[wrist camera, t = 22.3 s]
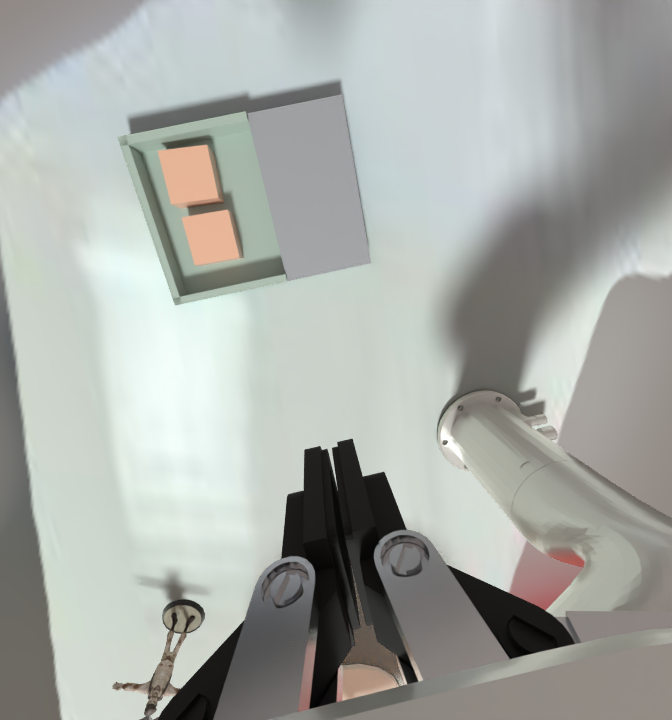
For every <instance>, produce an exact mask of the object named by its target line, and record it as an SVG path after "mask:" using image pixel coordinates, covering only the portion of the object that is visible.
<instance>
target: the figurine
mask: <svg viewBox="0 0 672 720" xmlns="http://www.w3.org/2000/svg"><path fill="white" fill-rule="evenodd" d="M162 619H163V624H164V625H165V627H166V628H167V629H169V630H170V631H169V633H168V635H167V642H166V647H165V650H164V653H163V656H162V659H161V662H160V663H159V665H158V666H157V668H156V670H155V673H154V674H153V677H152V679H151V681H149V682H147V683H144V684H135V683H126V684H122V683H117V682H116V684H115V683H114V685H115V686H114V685H113V686H112V687H113V689H116V690H120V689H121V688H123V689H124V690H125V691H137V692H141V693H144V694H147V695H148V699H149V701H148V703H147V705H146V708H145V712H144V714H145V716H148V715H152V714H153V713H154V712H156V710H157V709H156V706H157V701H160V700H162V698H163V697H164V696H175V695H176V694H177V693H178V692H179V691H180V689H177V688H175V687H173V686H172V685H171V684H170V683H169V682H170V679H171V676H172V671H173V667H174V665H173V663H174V660H175V658H176V656H177V653H178V651H179V648H180V646H181V644H182V642H183V641H184V639H185V638H186V633H190V632H193V631H195V630H196V629H197V628H199V627H200V625H201V624H202V623H203V621H204V619H205V613H204V610H203V608H202V607H201V606H200V605H199V604H197V603H195V602H193V601H188V600H178V601H175V602H172V603H170V604H169V605H167V606H166V608H165V609H164V611H163V614H162ZM174 632H175V633H180V634H181V636H180V638H179V641H178V643H177V645H176V647H175V649H174V650H173V652H169V650H170V645H171V641H172V638H173V634H174Z"/></svg>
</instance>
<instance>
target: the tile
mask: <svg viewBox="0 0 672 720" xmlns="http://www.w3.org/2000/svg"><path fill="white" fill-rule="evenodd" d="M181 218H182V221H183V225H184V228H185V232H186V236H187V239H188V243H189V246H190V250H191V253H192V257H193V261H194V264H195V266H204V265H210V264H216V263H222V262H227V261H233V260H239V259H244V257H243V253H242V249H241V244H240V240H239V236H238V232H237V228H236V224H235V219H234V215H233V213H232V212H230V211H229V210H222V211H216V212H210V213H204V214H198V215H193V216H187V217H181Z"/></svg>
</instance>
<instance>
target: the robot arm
mask: <svg viewBox="0 0 672 720" xmlns="http://www.w3.org/2000/svg"><path fill="white" fill-rule="evenodd" d="M458 406H459V407H458ZM546 423H547V418H546V416H545V415H544V414H539V415H534V416H532V417H527V416H524V415H523V414H522V413H521V411H520V409H519V407H518V406H517V405H516V403H515V402H513V401H512V400H511V399H510V398H508V397H507V396H505V395H503V394H501V393H498V392H495V391H489V390H484V391H476V392H472V393H469V394H467V395H464V396H462V397H461V398H459V399H458V400H456V401H455V402H454V403H453V404H452V405H451V406H450V407H449V408H448V409H447V410H446V412H445V413H444V415H443V417H442V418H441V420H440V424H439V427H438V433H437V437H438V444H439V447H440V450H441V452H442V453H443V455H444V456H445V458H446V459H447V460H448V461H449V462H450V463H451V464H452V465H454V466H455V467H457V468H459V469H462V470H465V471H470V472H471V473H472V474H473V475H474V476H475V478H476V479H477V480H478V481H479V482H480V484H481V485H482V486H483V487H484V489H485V490H486V491H487V492H488V493H489V495H490V496H491V497H492V498H493V500H494V501H495V502H496V503H497V504H498V506H499V507H500V508H501V509H502V511H503V512H504V513H505V514H506V515H507V517H508V518H509V519H510V520H511V522H512V523H513V524H514V525H515V526H516V528H517V529H518V530H519V531H520V532H521V534H522V535H523V536H524V537H525V538H526V539H527V540H528V541H529V542H530V543H531V544H532V545H533V546H534V547H535V548H536V549H538V550H539V551H541V552H542V553H544V554H546V555H547V556H549V557H551V558H553V559H556V560H558V561H561V562H564V563H568V564H571V565H574V566H578V567H582V568H583V569H582V571H581V572H580V574H578V576H577V577H576V578H575V579H574V580H573V581H572V584H571V585H570V586H569V587H568V588H567V589H566V590H565V591H564V592H563V593H562V594H561V595H560V596H559V597H558V598H557V599H556V600H555V602H554V603H553V604H552V605H551V606H550V607H549V608H548V609H547V610H546V611H545V610H543V609H541V608H540V607H538V606H536V605H534V604H531V603H529V602H527V601H525V600H523V599H521V598H518V597H516V596H514V595H512V594H510V593H508V592H505V591H503V590H501V589H499V588H497V587H494V586H492V585H490V584H488V583H486V582H484V581H481V580H479V579H477V578H475V577H473V576H470V575H468V574H466V573H464V572H462V571H459V570H457V569H455V568H453V567H451V566H449V565H446V563H445V562H444V560H443V559H442V557H441V556H440V554H439V553H438V551H437V550H436V548H435V547H434V545H433V544H432V543H431V542H430V541H429V540H428V538H427V537H425V536H423V535H422V534H420V533H418V532H415V531H411V530H407V529H406V527H405V524H404V522H403V519H402V516H401V514H400V511H399V509H398V506H397V503H396V501H395V498H394V496H393V493H392V490H391V488H390V485H389V483H388V480H387V477H386V475H385V473H384V472H381V473H377V474H372V475H368V476H364V477H363V476H362V472H361V469H360V465H359V461H358V457H357V454H356V450H355V446H354V443H353V439H349V440H345V441H340V442H337V444H338V447H333V448H332V452H333V459H334V466H335V473H336V481H337V486H336V482H335V478H334V474H333V470H332V466H331V462H330V457H329V453H328V450H327V449H325V450H322V449H321V447H320V446H319V447H314V448H310V449H306V450H305V452H304V491H300V492H296V493H291V494H288V496H287V504H286V515H285V525H284V536H283V547H282V558H281V559H280V560H278V561H276V562H274V563H273V564H272V565H270V566H269V567H268V568H267V569H266V570H265V571H264V572H263V573H262V575H261V576H260V577H259V579H258V581H257V584H256V586H255V589H254V592H253V595H252V598H251V601H250V605H249V608H248V611H247V614H246V617H245V620H244V621H243V622H242V623H241V624H240V625H239V627H238V628H237V629H236V630H235V631H234V632H233V633H232V634H231V635H230V636H229V637H228V638H227V640H226V641H225V642H224V643H223V644H222V645H221V646H220V647H219V648H218V649H217V650H216V652H215V653H214V654H213V655H212V656H211V657H210V658H209V659H208V660H207V661H206V662H205V663H204V665H203V666H202V667H201V668H200V669H199V670H198V671H197V672H196V673H195V674H194V675H193V676H192V678H191V679H190V680H189V681H188V682H187V683H186V684H185V685H184V686H183V687H182V688H181V689H180V691H179V692H178V693H177V694H176V695H175V696H174V697H173V698H172V700H171V701H170V702H169V703H168V705H167V706H166V707H165V709H164V710H163V711H162V713H161V715H160V716H159V717H158V718H156V719H154V720H672V518H671V517H670V516H668V515H666V514H664V513H662V512H660V511H658V510H657V509H655V508H653V507H651V506H650V505H648V504H646V503H645V502H643V501H641V500H639V499H638V498H636V497H635V496H633V495H632V494H630V493H628V492H627V491H625V490H624V489H622V488H621V487H619V486H618V485H616V484H614V483H613V482H611V481H610V480H608V479H607V478H605V477H604V476H602V475H601V474H599V473H598V472H596V471H595V470H593V469H592V468H591V467H589V466H587V465H586V464H584V463H583V462H582V461H580V460H579V459H577V458H576V457H574V456H573V455H571V454H570V453H568V452H567V451H566V450H564V449H563V448H561V447H560V446H558V445H557V444H555V443H554V442H552V441H551V440H555V439H557V436H558V435H557V432H556V430H555V428H553V427H552V426H547V427H543V428H539V429H537V430H535V429H534V428H532V426H535V425H541V424H546ZM337 488H338V490H337ZM351 565H352V567H351ZM352 569H353V573H354V577H355V581H356V585H357V589H358V593H359V597H360V601H361V605H362V609H363V613H364V617H365V621H366V625H367V626H369V625H374V629H375V633H376V637H377V641H378V642H379V643H381V644H382V645H383V646H385V647H386V648H387V649H389V650H390V651H392V652H393V653H394V654H395V656H396V660H397V664H398V667H399V670H400V672H401V675H402V678H403V680H404V683H405V685H403V686H399V687H395V688H391V689H387V690H383V691H379V692H375V693H371V694H367V695H363V696H359V697H355V698H352V699H348V700H344V701H343V668H342V662H343V661H344V659H345V657H346V656H347V654H348V653H349V651H350V649H351V648H352V647H351V646H355V641H354V633H353V629H357V628H360V620H359V614H358V607H357V600H356V593H355V587H354V580H353V573H352ZM140 720H152V718H151V716H150V715H148V716H146V717H144V718H142V719H140Z"/></svg>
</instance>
